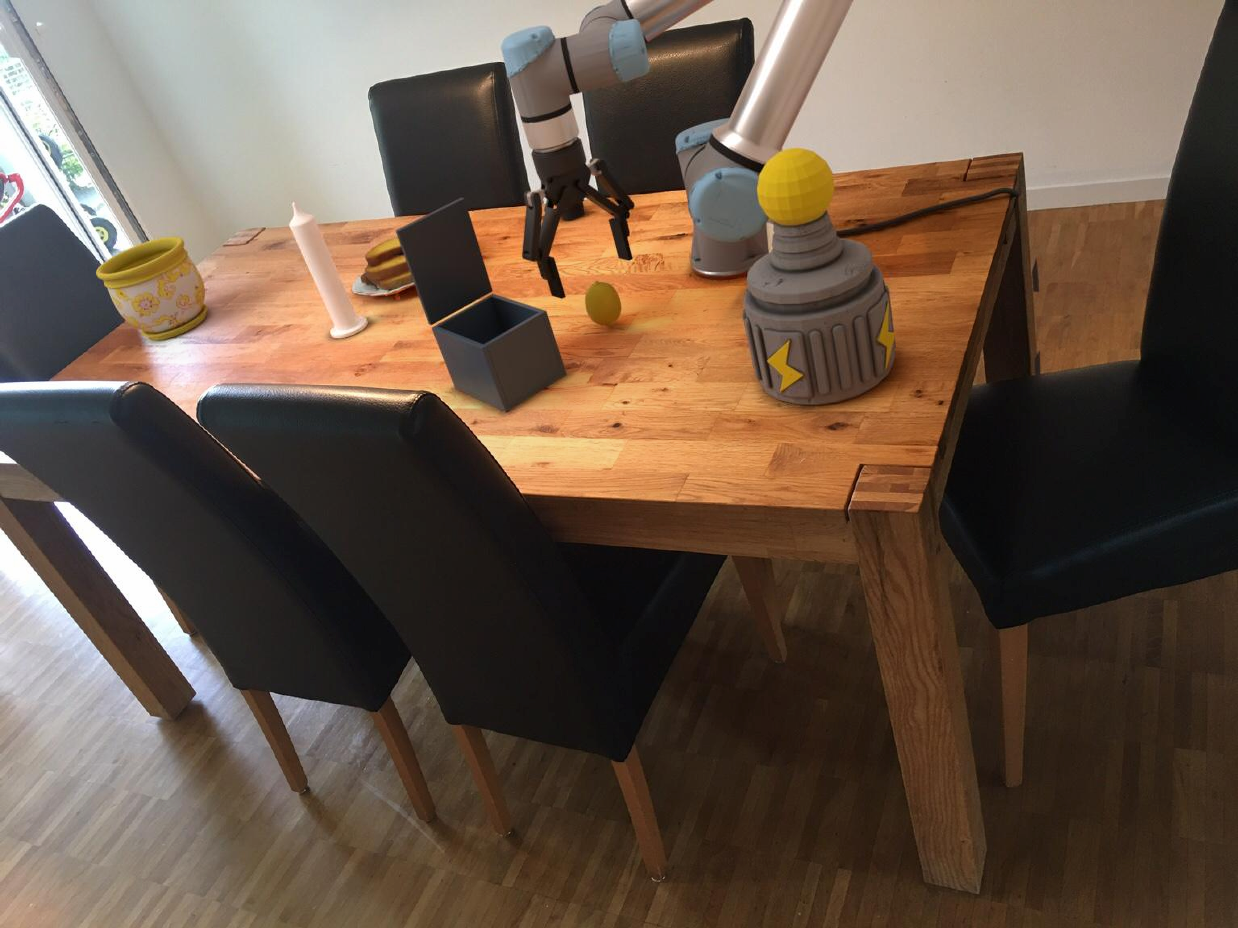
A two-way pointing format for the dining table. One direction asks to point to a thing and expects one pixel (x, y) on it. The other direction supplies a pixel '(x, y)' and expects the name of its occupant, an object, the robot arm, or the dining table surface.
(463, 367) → the box
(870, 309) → the decorative lamp
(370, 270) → the food on plate
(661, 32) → the robot arm
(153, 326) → the flowerpot
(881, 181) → the dining table surface
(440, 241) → the lid
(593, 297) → the lemon
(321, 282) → the candle
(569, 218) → the drinking cup
